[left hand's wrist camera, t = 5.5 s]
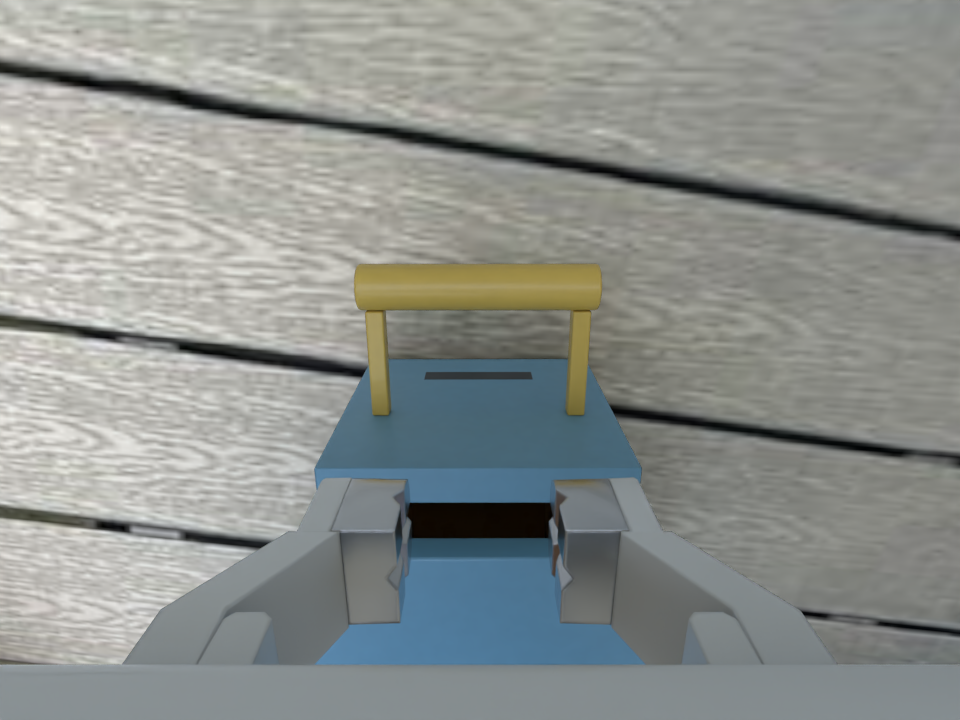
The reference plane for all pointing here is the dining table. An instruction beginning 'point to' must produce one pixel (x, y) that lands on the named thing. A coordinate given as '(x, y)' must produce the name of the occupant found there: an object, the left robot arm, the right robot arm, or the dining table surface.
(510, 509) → the drawer
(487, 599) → the blue open box
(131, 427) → the dining table surface
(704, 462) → the dining table surface
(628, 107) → the dining table surface
